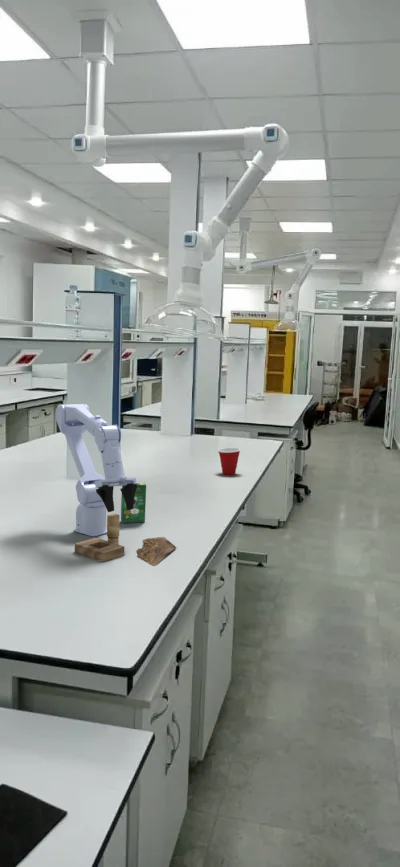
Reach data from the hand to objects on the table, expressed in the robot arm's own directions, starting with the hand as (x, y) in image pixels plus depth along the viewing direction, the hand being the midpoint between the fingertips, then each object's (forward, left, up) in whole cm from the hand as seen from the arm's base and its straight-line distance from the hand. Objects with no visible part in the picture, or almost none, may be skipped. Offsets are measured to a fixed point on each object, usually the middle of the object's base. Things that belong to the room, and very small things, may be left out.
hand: (120, 510), depth 189 cm
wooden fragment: (+10, +4, -11) cm, 16 cm away
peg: (-3, -1, -11) cm, 11 cm away
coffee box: (-17, +21, -11) cm, 29 cm away
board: (0, -9, -11) cm, 14 cm away
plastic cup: (-44, +109, -11) cm, 118 cm away
